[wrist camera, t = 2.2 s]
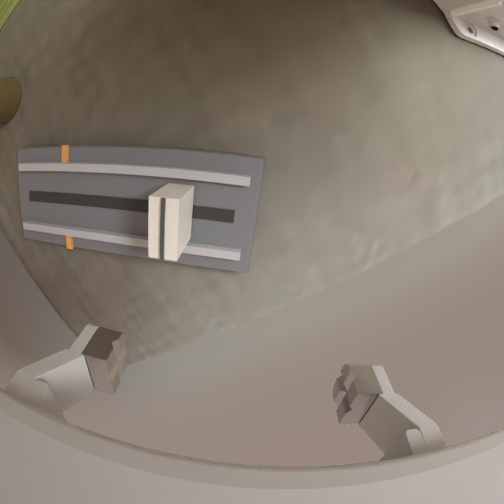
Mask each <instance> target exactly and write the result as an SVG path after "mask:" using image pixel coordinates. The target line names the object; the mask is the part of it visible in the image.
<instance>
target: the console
mask: <svg viewBox="0 0 504 504" xmlns="http://www.w3.org/2000/svg"><path fill="white" fill-rule="evenodd" d="M264 163H265V157H260V156H253V155H245V154H237V153H228V152H219V151H209V150H199V149H187V148H174V147H158V146H137V145H69V162H68V163H62V145H53V146H34V147H25V148H21V149H18V184H19V198H20V208H21V218H22V225H23V233H24V238H27V239H32V240H38V241H43V242H49V243H55V244H61V245H66V246H67V244H66V236H71V237H73V246H74V247H78V248H84V249H90V250H96V251H102V252H108V253H115V254H121V255H127V256H133V257H140V258H146V259H153V260H159V261H163V260H160V259H158V258H151V257H148V212H149V196H150V195H151V194H153V193H154V192H156V191H157V190H159V189H160V188H162V187H163V186H165V185H166V184H168V183H175V184H185V185H194V197H193V210H192V225H191V238H190V240H189V242H188V243H187V245H186V247H185V248H184V250H183V252H182V253H181V255H180V257H179V258H178V260H177V261H171V260H165V259H164V261H166V262H173V263H179V264H186V265H193V266H200V267H207V268H214V269H221V270H228V271H236V272H243V273H249V266H250V259H251V252H252V245H253V238H254V232H255V225H256V218H257V211H258V204H259V197H260V190H261V184H262V177H263V170H264Z"/></svg>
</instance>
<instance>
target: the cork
mask: <svg viewBox="0 0 504 504" xmlns="http://www.w3.org/2000/svg"><path fill="white" fill-rule="evenodd" d="M20 100H21V86H20V83H19V81H18V80H17V79H16V78H13V77H10V78H4V79H0V123H4V122H8V121H9V120H11V119H12V118H13V116H14V115H15V114H16V112H17V110H18V107H19V104H20Z"/></svg>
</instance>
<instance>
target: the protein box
mask: <svg viewBox="0 0 504 504" xmlns="http://www.w3.org/2000/svg"><path fill="white" fill-rule="evenodd" d="M19 1H20V0H0V30H1V28H2V26H3V25H4V23H5V22H6V20H7V19H8V17H9V16H10V14H11V13H12V11H13V10H14V8H15V7H16V5H17V4H18V3H19Z"/></svg>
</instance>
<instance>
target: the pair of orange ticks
mask: <svg viewBox="0 0 504 504" xmlns="http://www.w3.org/2000/svg"><path fill="white" fill-rule="evenodd" d="M68 162H69V145H62V163H68ZM66 244H67V249H74V246H73V237H71V236H66Z"/></svg>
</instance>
